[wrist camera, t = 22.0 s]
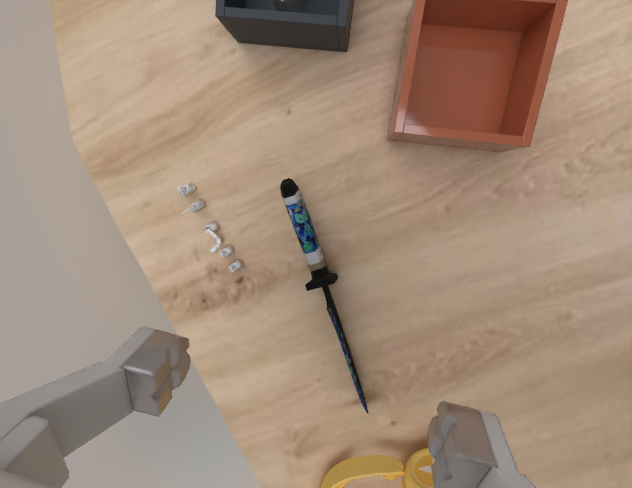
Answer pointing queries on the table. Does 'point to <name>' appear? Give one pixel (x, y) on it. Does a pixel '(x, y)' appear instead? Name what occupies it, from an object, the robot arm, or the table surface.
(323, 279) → the knife
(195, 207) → the figurines set
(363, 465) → the headset
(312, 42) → the grey bin
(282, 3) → the lighter
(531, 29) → the terracotta bin
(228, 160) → the table surface
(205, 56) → the table surface
